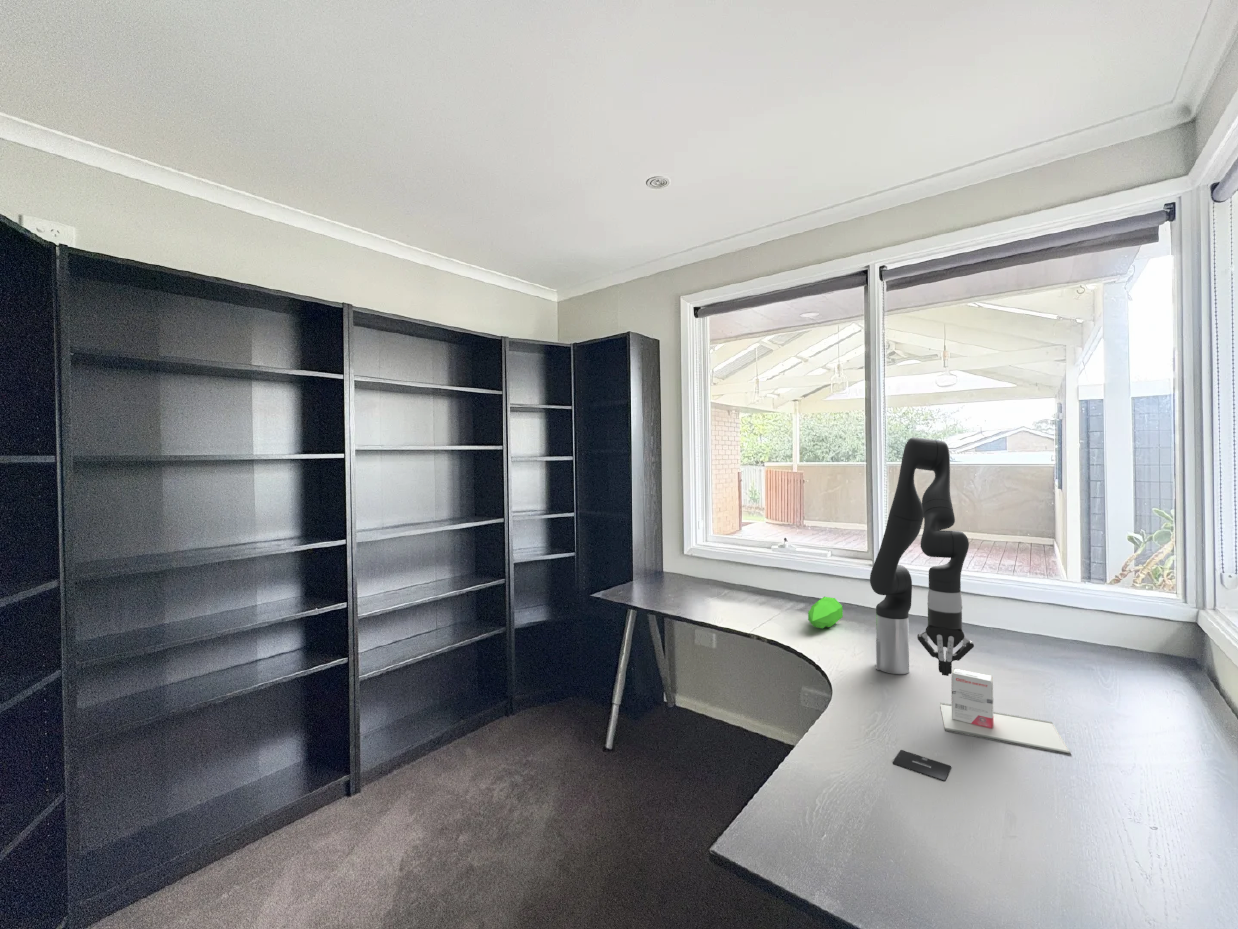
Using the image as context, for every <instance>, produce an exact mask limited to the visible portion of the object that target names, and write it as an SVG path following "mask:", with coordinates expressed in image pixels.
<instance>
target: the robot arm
mask: <svg viewBox="0 0 1238 929" xmlns="http://www.w3.org/2000/svg"><path fill="white" fill-rule="evenodd" d="M901 457H902V459H901V462H900V463H901V464H900V469H899V473H898V474H899V475H898V480H897V484H896V485H897V486H896V488H895V491H894V492H895V493H894V495H893V496H894V497H893V500H892V503H891V506H890V510H889V513H888V518H887V522H886V527H885V529H884V530H885V531H884V533H883V537H882V540H881V544H880V548H879V550H878V552H877V555H876V558H875V560H874V563H873V565H872V569H871V571H870V575H869V584H870V587H871V588H872V590H873V592H874V593H875V594H876V595H880V596H884V598H883V600H881V601H880V602H879V603H877V605H875V606H876V607H875V616H876V617H875V621H876V622H875V623H876V625H875V626H876V628H875V630H876V631H875V632H876V637H875V651H876V653H875V656H876V658H875V660H876V664H875V666H876V670H878V671H882V672H883V673H889V674H891V675H906V674H909V673H910V645H909V644H910V643H909V642H910V637H909V636H910V635H909V633H910V631H909V612H910V610H911V607H912V598H913V596H912V593H913V582H912V581H913V580H912V576H911V573H910V571H909V570H908V568H907V567H905V566H904V565H901V564H899V562H900V559H901V558H902V556H903V555H904V554H905V552H906V551H907V550H908V549H909V548H910V546H911V545H912V544H913V543H914V541H915V540H916V539H917V538H918V536H919V534H920V531H921V529H922V525H923V523H924V526H923V531H922V534H921V538H920V550H921V551H922V553H924V555H926V556H927V557H930V558H942V559H943V558H944V559H945V558H946V559H949V560H948V562H947V563H945V564H942V565H941V564H940V565H935V566H931V567H930V568H929V569H928V593H927V626H926V628H925V631H923V632H922V633H917V636H916V638H917V640H918V642H919V643H920V644H921V645H922V647H924V649H925V650H926V652H927V653H928V654H929V655H930V656H931V657H932V658H935V659H937V660H938V672H939V673H941V675H942V676H946V677H949V675H952V672H953V667H952V664H953V662H955V661H961V659H963V658H964V656H966V655H967V654H968V653H969V652H970V651H971V650H973V648H974V647H975V645H974V642H973V641H972V640H970V639H968V638H967V637H966V636H965V634H964V632H963V600H962V593H961V592H962V591H961V587H962V586H961V584H962V583H961V578H962V571H963V570H962V569H963V566H964V563H965V560H966V557H967V555H968V552H969V548H970V541H969V539H968V537H967V535H966V534H965V533H964V532H963V531H960V530H946V529H950V528H951V527H953V526H954V524H955V522H956V517H955V513H954V507H953V504H952V503H953V502H952V498H951V460H950V458H951V456H950V448H949V445H948V444H947V443H946V442H945V441H942V440H939V439H932V438H931V439H930V438H925V437H924V438H923V437H913V436H912V437H910V438H909V439H908V440H907V442H906V444H905V446H904V449H903V453H902V456H901ZM917 469H918V470H922V471H923V470H924V471H929V472H930V471H932V472H933V473H934V479H933V480H932V482H930V484H929V486H928V487H927V488H926V490H925V491H924V493H923V495H922V498H920V496H919V493H918V492H917V488H916V484H915V472H916V470H917ZM923 521H924V522H923ZM929 639H930V641H931V642H932V643H933V644H934V645H935V646H937V647H936V649H937V651H936V650H935V649H934V648H933V647H932V646H931V645H930V643H929V642H928V641H929ZM960 643H961V645H962V646H960V648H958V649H957V650H956V652H954V649H955V648H956V647H957V646H958V645H959V644H960ZM944 648H945V653H944Z"/></svg>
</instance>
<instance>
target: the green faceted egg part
mask: <svg viewBox="0 0 1238 929" xmlns="http://www.w3.org/2000/svg"><path fill="white" fill-rule="evenodd" d="M843 610H844V609H843V605H842V604H841V603H840V602H839V601H838V600H837V599H836V598H835V597H829V596H822V598H820V599H818V600H817V601H816V602H815V603H813V604H812V605H811V606H810V609H809V610H808V612H807V614H808V615H807V616H808V617H807V620H808V621H809V623H810V624H811V625H812V626H813V628H817V629H824V628H828V627H830V628H831V627H833V625H835V624H836V623H838V622H839V621H840V620H841V619H842V618H843V616H844V615H843V612H844V611H843ZM825 626H826V627H825Z"/></svg>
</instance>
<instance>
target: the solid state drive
mask: <svg viewBox="0 0 1238 929" xmlns="http://www.w3.org/2000/svg"><path fill="white" fill-rule="evenodd" d="M892 765H895V766H898V767H900V768H904V769H907V770H909V771H911V772H912V771H913V772H915V773H918V774H920V773H921V775H923V776H927V777H930V778H933V779H935V780H938V781H941V782H946V781H947V779H948V776H949V774H950V772H951V769H952V765H950V764H947V763H943V762H940V761H937V760H934V759H931V758H928V757H926V756H923V755H918V754H916V753H913V752H909V751H907V750H903V749H900V750H899V751H898V753H897V755H896V756H895V758H894V759H893V761H892Z"/></svg>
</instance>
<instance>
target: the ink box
mask: <svg viewBox="0 0 1238 929" xmlns="http://www.w3.org/2000/svg"><path fill="white" fill-rule="evenodd" d="M951 705H952V719H955V720H959V721H963V722H967V723H971V724H975V725H979V726H983V727H987V728H993V725H994V713H993V712H994V678H993V675H990V674H989V675H988V674H983V673H978V672H975V671H969V670H964V669H959V668H952V673H951Z"/></svg>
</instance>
